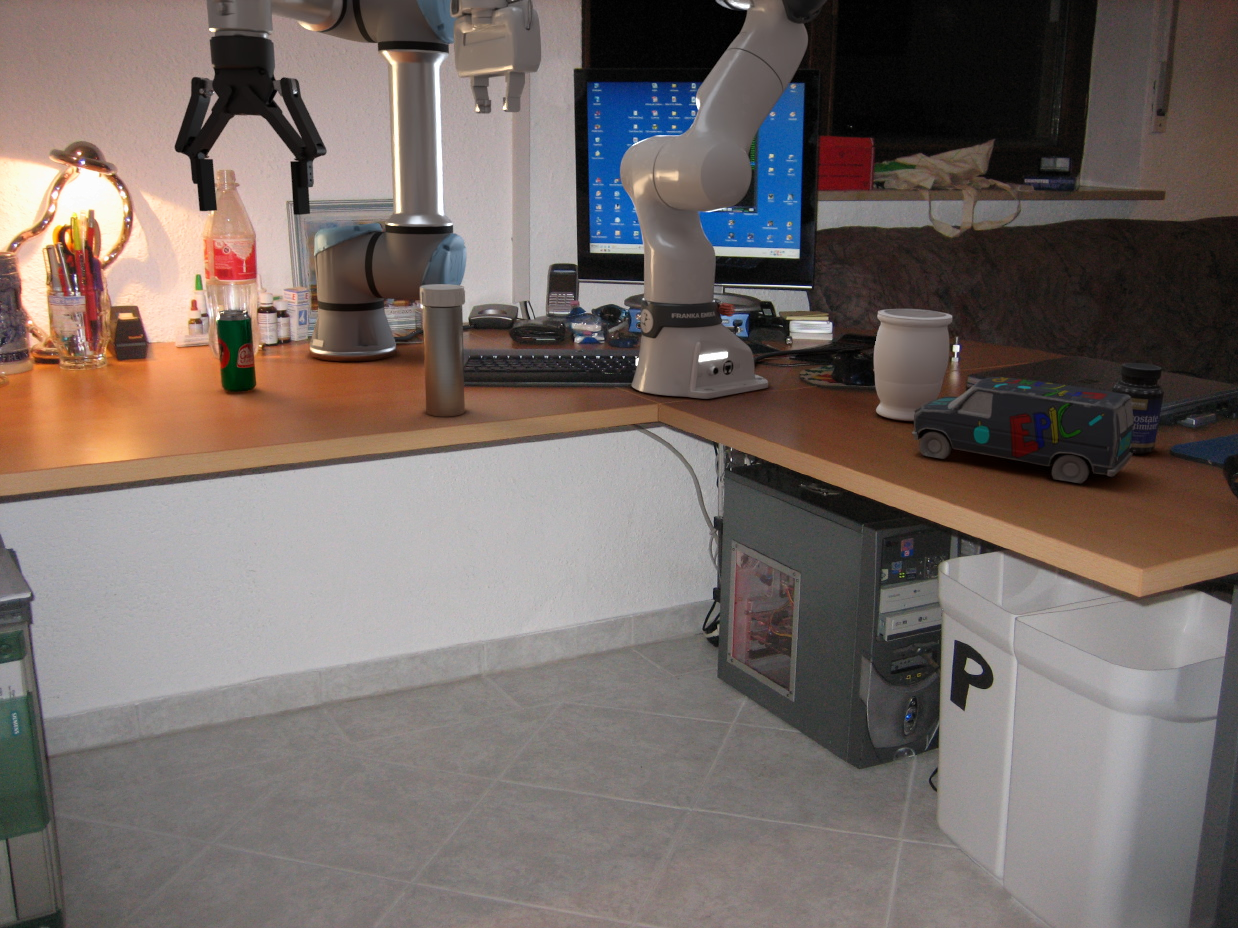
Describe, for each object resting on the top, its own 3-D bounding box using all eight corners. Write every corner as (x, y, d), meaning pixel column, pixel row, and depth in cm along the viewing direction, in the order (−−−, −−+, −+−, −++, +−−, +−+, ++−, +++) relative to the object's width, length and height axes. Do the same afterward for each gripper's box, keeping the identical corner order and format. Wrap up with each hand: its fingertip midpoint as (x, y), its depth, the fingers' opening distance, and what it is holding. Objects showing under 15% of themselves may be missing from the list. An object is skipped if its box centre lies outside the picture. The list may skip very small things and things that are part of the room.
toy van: (934, 436, 145) (942, 364, 142) (1131, 470, 131) (1144, 390, 128) (905, 453, 136) (913, 376, 134) (1112, 490, 123) (1125, 406, 120)
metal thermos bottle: (469, 409, 156) (467, 288, 151) (457, 417, 151) (454, 293, 146) (434, 406, 157) (430, 287, 152) (420, 415, 152) (416, 291, 147)
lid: (471, 301, 152) (470, 285, 151) (456, 307, 146) (456, 290, 145) (429, 300, 153) (428, 283, 152) (413, 305, 147) (412, 288, 146)
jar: (854, 409, 159) (862, 309, 155) (910, 404, 163) (920, 306, 159) (898, 426, 150) (909, 320, 146) (957, 420, 154) (969, 317, 150)
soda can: (245, 393, 162) (239, 314, 158) (215, 391, 163) (208, 313, 159) (262, 387, 166) (257, 310, 163) (233, 385, 167) (226, 308, 164)
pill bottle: (1117, 454, 138) (1130, 370, 135) (1094, 442, 144) (1106, 361, 140) (1163, 454, 138) (1177, 370, 135) (1139, 442, 144) (1152, 361, 141)
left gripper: (134, 34, 131) (152, 210, 137) (317, 32, 126) (327, 217, 132) (172, 40, 138) (188, 208, 144) (347, 39, 133) (356, 214, 139)
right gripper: (554, -9, 128) (553, 112, 132) (488, 8, 145) (489, 115, 149) (506, -14, 125) (506, 110, 129) (444, 4, 142) (446, 113, 146)
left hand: (254, 213), depth 138 cm, fingers open, 13 cm apart
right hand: (496, 113), depth 139 cm, fingers open, 8 cm apart
